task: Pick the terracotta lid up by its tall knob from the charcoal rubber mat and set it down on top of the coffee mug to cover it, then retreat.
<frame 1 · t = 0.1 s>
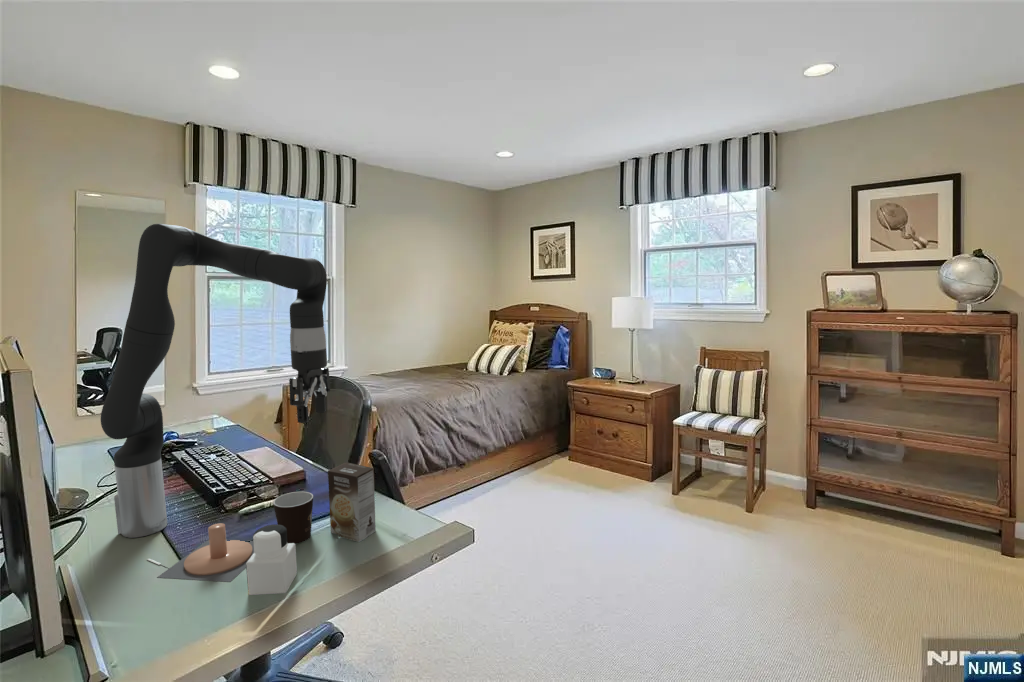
hand: (312, 417, 122), 29 cm above the table, fingers open, 8 cm apart
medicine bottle: (273, 586, 106), on the table
mat: (219, 561, 115), on the table
coffee box: (353, 533, 127), on the table
coffee mug: (299, 537, 126), on the table
terracotta lid: (219, 558, 115), point 1 cm above the table, touching mat
white screwdriver: (170, 573, 111), resting in mat
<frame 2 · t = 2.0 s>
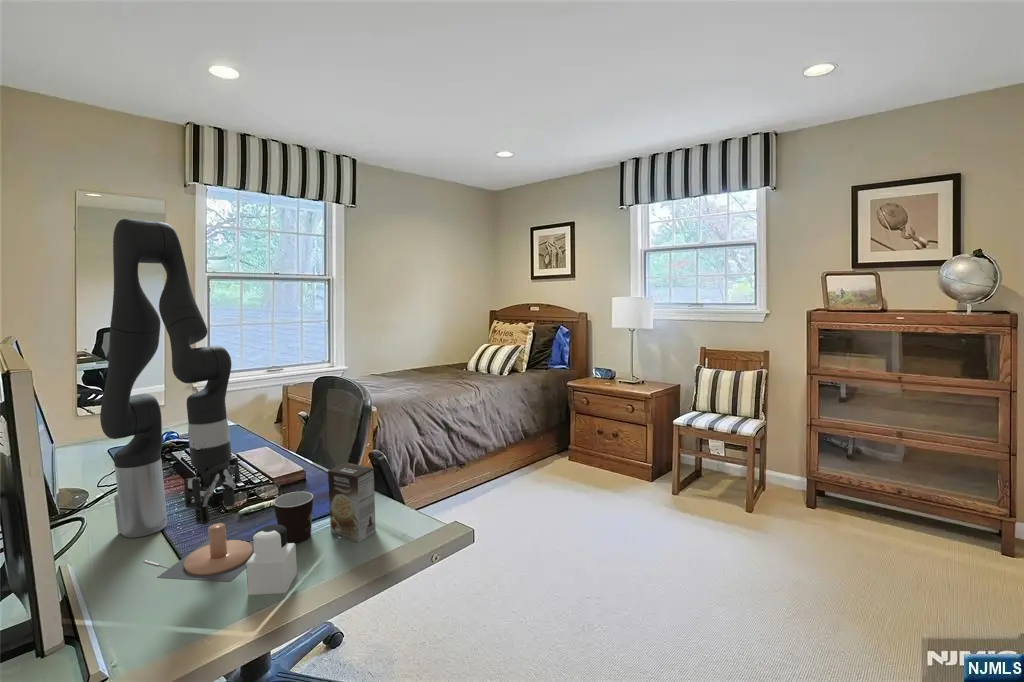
hand: (216, 514, 114), 11 cm above the table, fingers open, 8 cm apart
nothing on the table moved.
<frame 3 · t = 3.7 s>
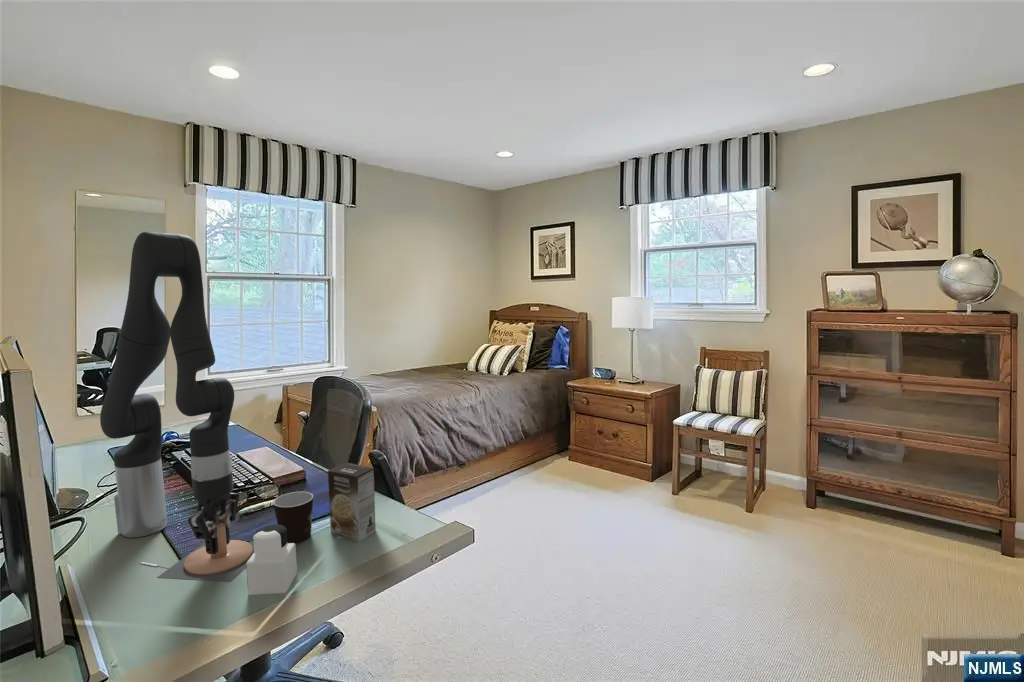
hand: (218, 548, 115), 3 cm above the table, fingers closed on terracotta lid, 3 cm apart
terracotta lid: (219, 558, 115), point 1 cm above the table, touching gripper, mat
everything else where it was.
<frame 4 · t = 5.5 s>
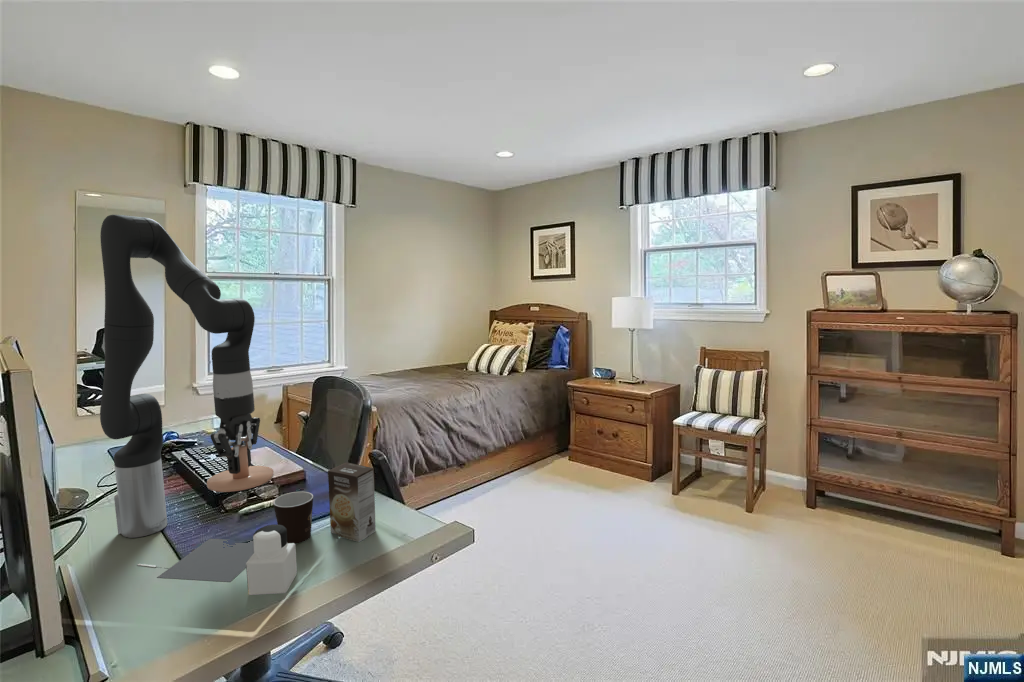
hand: (240, 469, 116), 20 cm above the table, fingers closed on terracotta lid, 3 cm apart
terracotta lid: (241, 479, 116), point 17 cm above the table, touching gripper
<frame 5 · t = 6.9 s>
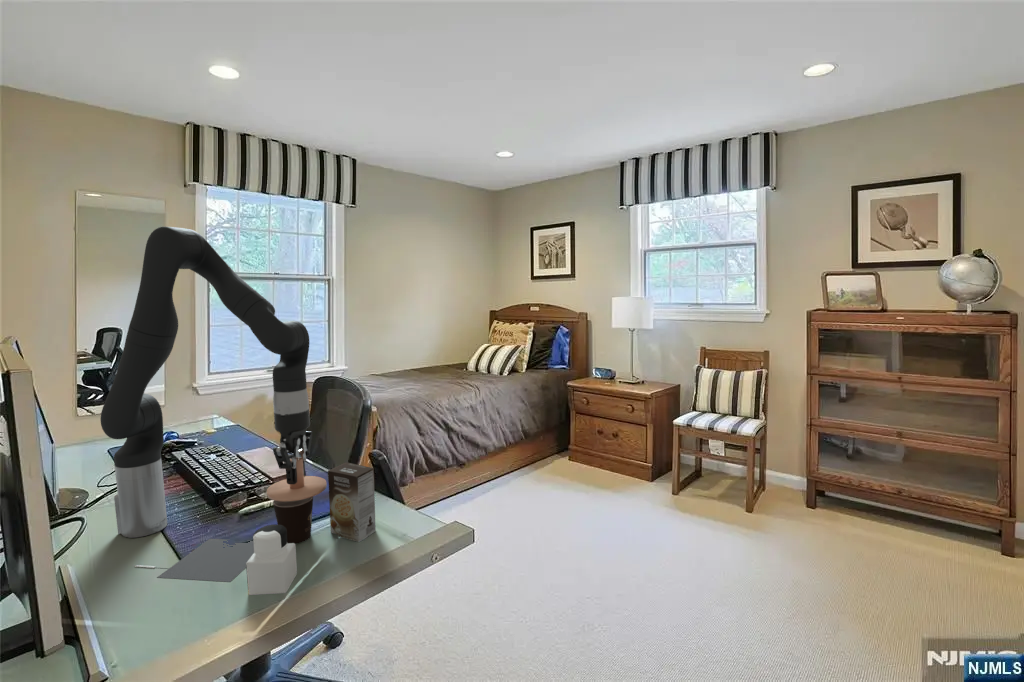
hand: (296, 480, 124), 14 cm above the table, fingers closed on terracotta lid, 3 cm apart
terracotta lid: (297, 489, 124), point 12 cm above the table, touching gripper
when the fingers open (14 cm above the table, at t = 7.6 s): terracotta lid drops 1 cm, resting on coffee mug.
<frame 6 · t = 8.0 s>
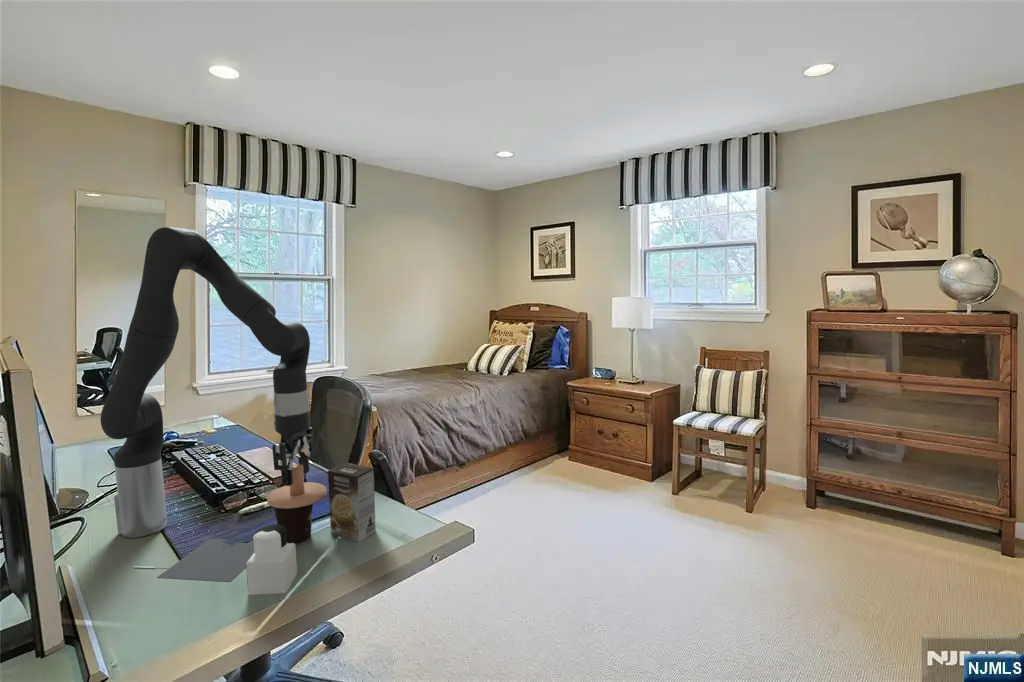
hand: (296, 478, 124), 14 cm above the table, fingers open, 7 cm apart
coffee mug: (299, 537, 126), on the table, touching terracotta lid
terracotta lid: (297, 496, 124), point 10 cm above the table, touching coffee mug
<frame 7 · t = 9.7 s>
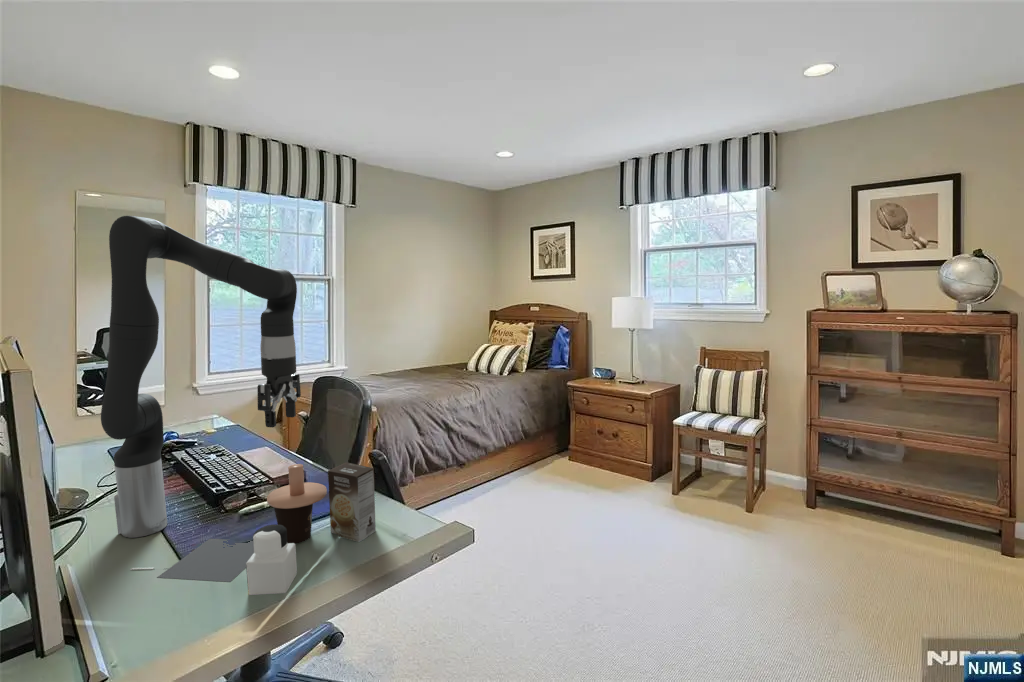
hand: (281, 421, 126), 27 cm above the table, fingers open, 8 cm apart
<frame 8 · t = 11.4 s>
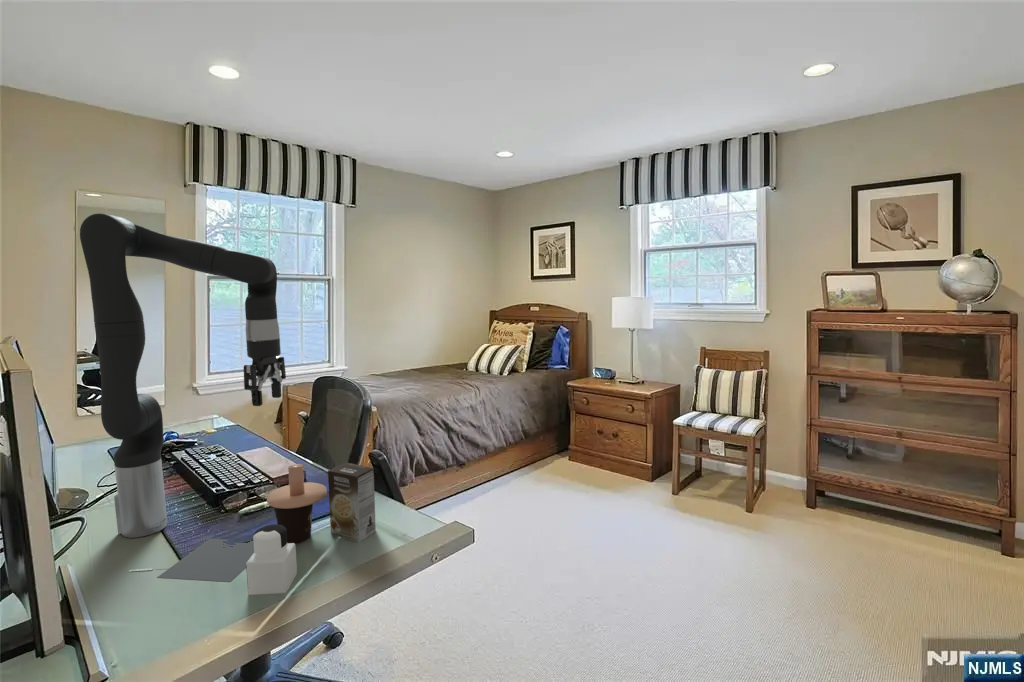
hand: (267, 401, 133), 30 cm above the table, fingers open, 8 cm apart
at the end: terracotta lid 0.0 cm from the coffee mug (horizontally); terracotta lid point 10.0 cm above the table; terracotta lid touching coffee mug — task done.
